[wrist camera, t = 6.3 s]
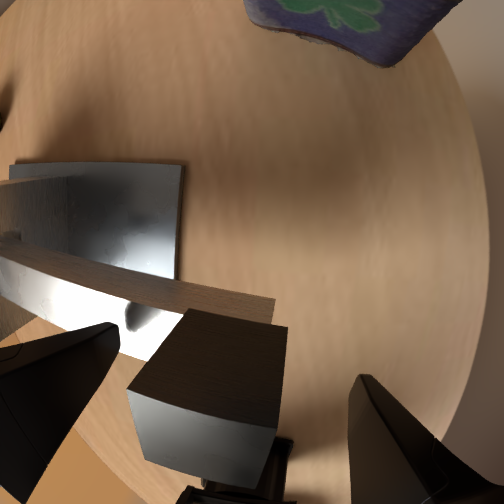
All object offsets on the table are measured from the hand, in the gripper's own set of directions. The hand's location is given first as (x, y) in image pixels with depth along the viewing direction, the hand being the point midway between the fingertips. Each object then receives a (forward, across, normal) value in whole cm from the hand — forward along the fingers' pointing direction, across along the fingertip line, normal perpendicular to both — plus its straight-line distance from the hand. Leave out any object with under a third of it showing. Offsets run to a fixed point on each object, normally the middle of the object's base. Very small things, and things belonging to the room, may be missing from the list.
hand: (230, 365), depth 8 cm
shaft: (+3, +8, 0) cm, 8 cm away
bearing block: (+9, +14, 0) cm, 17 cm away
